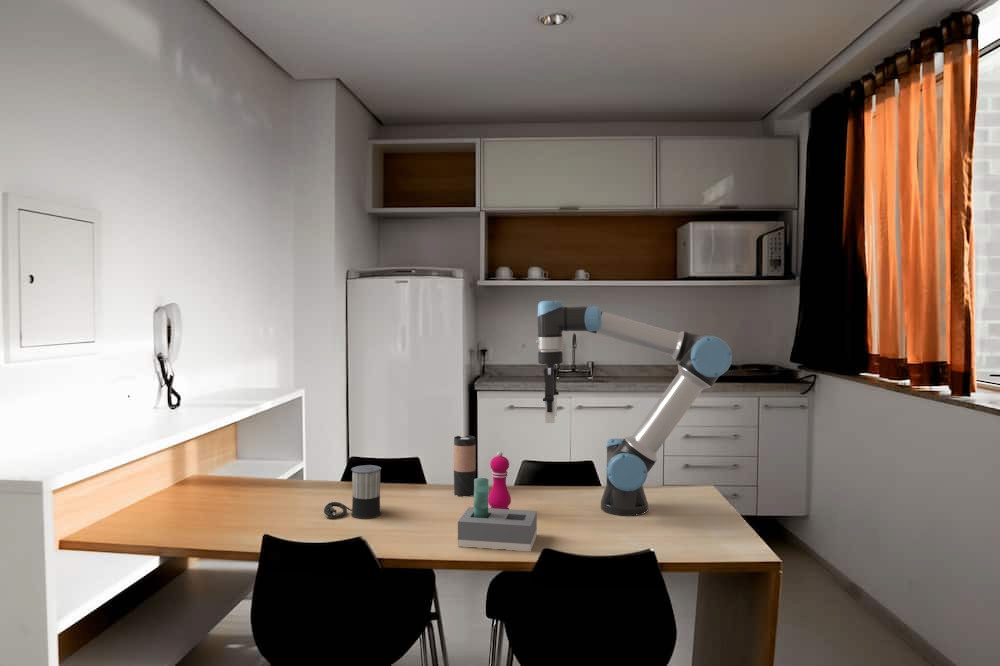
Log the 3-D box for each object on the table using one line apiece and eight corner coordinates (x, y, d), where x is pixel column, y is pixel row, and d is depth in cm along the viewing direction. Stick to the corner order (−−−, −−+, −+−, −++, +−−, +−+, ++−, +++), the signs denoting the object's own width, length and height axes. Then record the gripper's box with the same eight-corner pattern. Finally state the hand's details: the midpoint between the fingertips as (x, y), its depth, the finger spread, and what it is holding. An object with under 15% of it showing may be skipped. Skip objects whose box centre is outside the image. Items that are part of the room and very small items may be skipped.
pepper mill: (508, 518, 217) (508, 454, 216) (485, 516, 218) (486, 453, 218) (512, 511, 224) (513, 449, 223) (490, 510, 226) (491, 448, 225)
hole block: (536, 535, 201) (536, 510, 201) (530, 551, 187) (530, 525, 187) (468, 530, 205) (468, 507, 204) (457, 546, 191) (457, 521, 191)
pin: (489, 530, 198) (489, 478, 198) (486, 535, 195) (486, 481, 194) (475, 529, 199) (475, 477, 199) (472, 534, 195) (472, 481, 195)
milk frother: (387, 515, 220) (387, 468, 219) (344, 526, 208) (344, 476, 208) (361, 505, 230) (360, 461, 229) (318, 516, 218) (318, 468, 218)
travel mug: (467, 498, 239) (467, 440, 239) (449, 494, 243) (449, 437, 243) (479, 493, 246) (480, 436, 245) (461, 490, 250) (462, 434, 249)
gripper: (541, 348, 229) (542, 413, 229) (534, 353, 204) (536, 425, 205) (564, 348, 228) (565, 413, 228) (560, 353, 203) (561, 425, 204)
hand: (551, 419), depth 216 cm, fingers open, 13 cm apart
